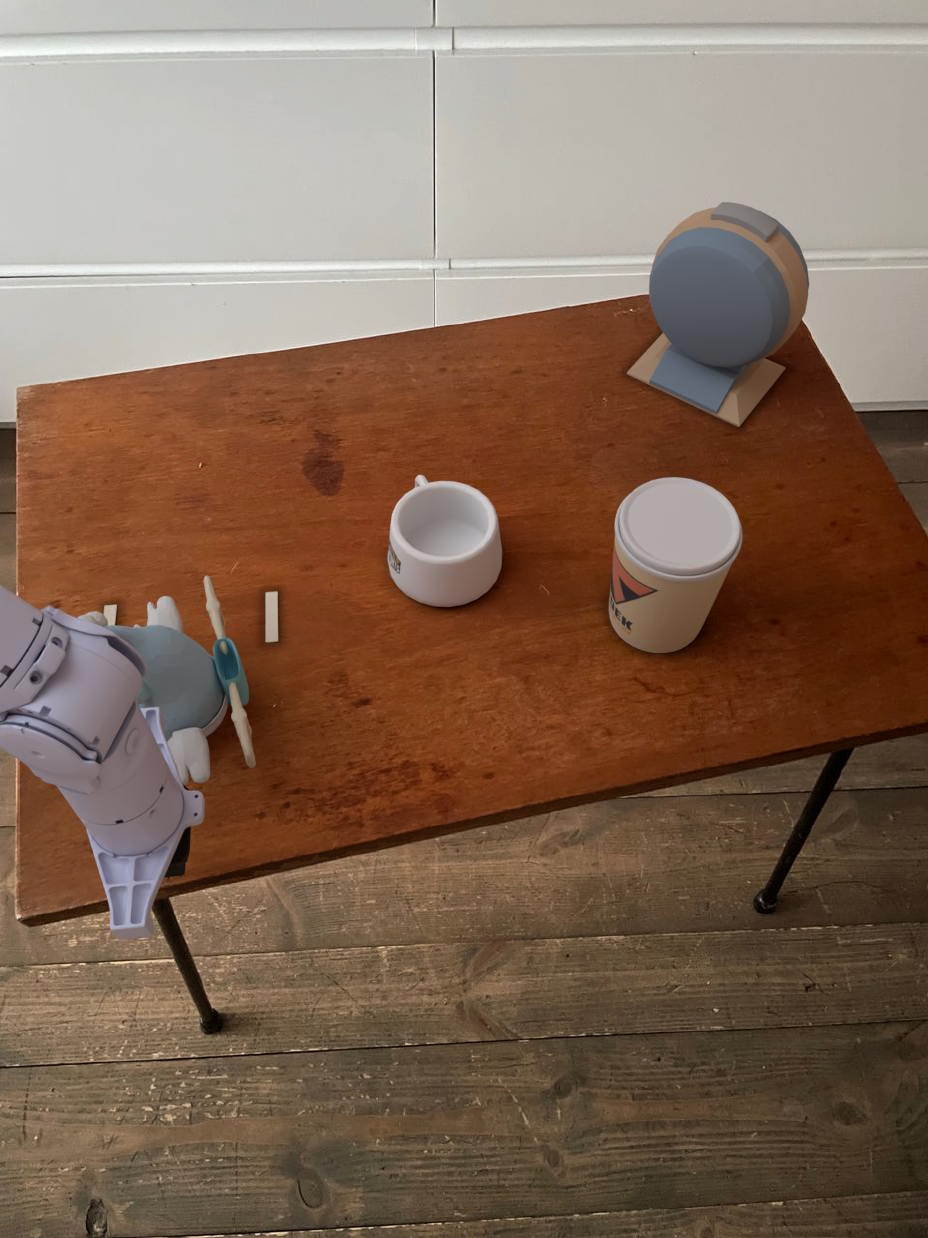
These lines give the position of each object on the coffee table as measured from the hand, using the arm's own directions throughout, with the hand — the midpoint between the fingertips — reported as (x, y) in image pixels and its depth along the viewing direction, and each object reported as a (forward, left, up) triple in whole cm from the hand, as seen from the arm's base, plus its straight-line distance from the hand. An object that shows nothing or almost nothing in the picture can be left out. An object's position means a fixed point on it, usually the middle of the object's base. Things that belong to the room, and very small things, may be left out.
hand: (170, 867), depth 72 cm
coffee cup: (+38, +19, -3) cm, 43 cm away
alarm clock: (+49, +47, -3) cm, 68 cm away
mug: (+21, +27, -3) cm, 34 cm away
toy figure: (0, +13, -3) cm, 13 cm away
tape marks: (0, +22, -3) cm, 22 cm away
